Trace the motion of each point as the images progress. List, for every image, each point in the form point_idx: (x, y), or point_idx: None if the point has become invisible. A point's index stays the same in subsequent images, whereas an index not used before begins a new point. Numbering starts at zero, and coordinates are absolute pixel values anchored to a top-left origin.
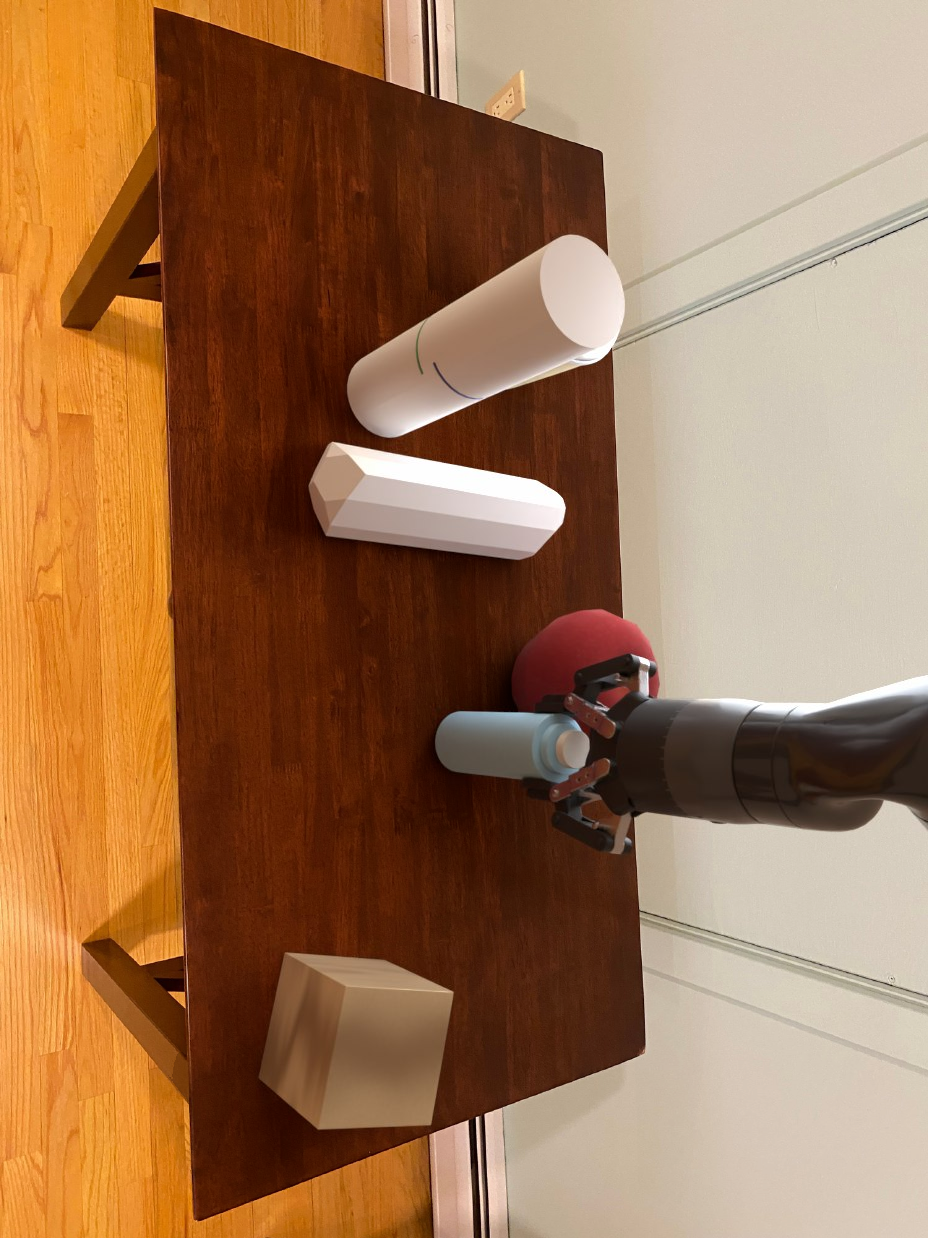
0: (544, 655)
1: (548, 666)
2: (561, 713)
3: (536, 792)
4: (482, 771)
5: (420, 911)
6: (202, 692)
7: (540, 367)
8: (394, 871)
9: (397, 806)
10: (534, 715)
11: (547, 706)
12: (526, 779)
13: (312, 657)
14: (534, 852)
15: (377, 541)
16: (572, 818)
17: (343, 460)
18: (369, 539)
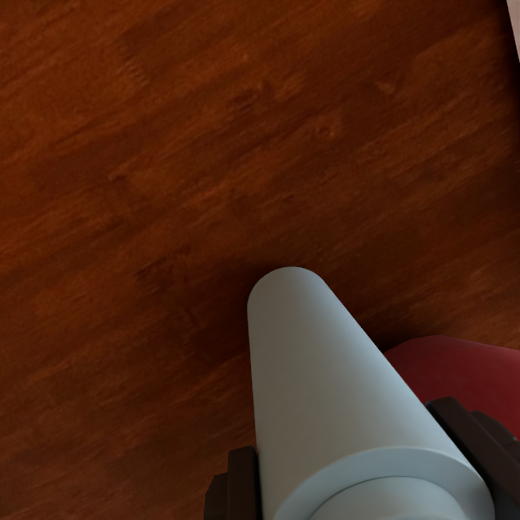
0: (512, 371)
1: (505, 388)
2: (497, 506)
3: (222, 515)
4: (251, 348)
5: (64, 353)
6: None
7: None
8: (90, 295)
9: (169, 260)
10: (426, 410)
11: (482, 442)
12: (250, 462)
13: (299, 23)
14: (210, 465)
15: (516, 32)
16: None
17: None
18: (517, 11)
